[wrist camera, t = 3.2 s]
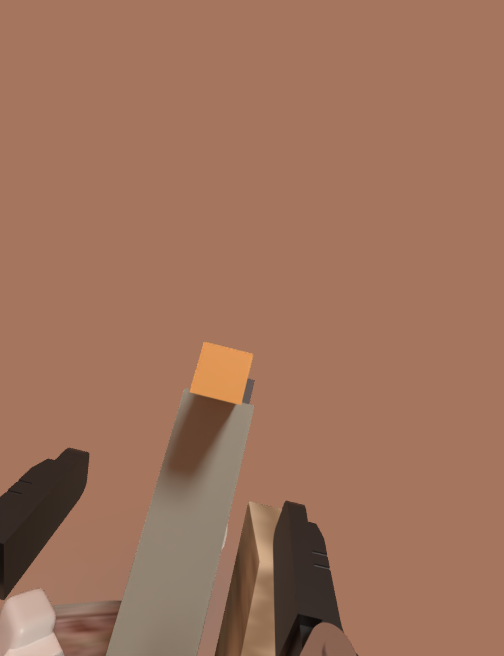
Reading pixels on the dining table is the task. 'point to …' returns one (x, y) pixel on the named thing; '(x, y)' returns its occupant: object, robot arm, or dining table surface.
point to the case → (184, 530)
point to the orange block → (222, 373)
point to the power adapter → (28, 626)
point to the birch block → (251, 589)
